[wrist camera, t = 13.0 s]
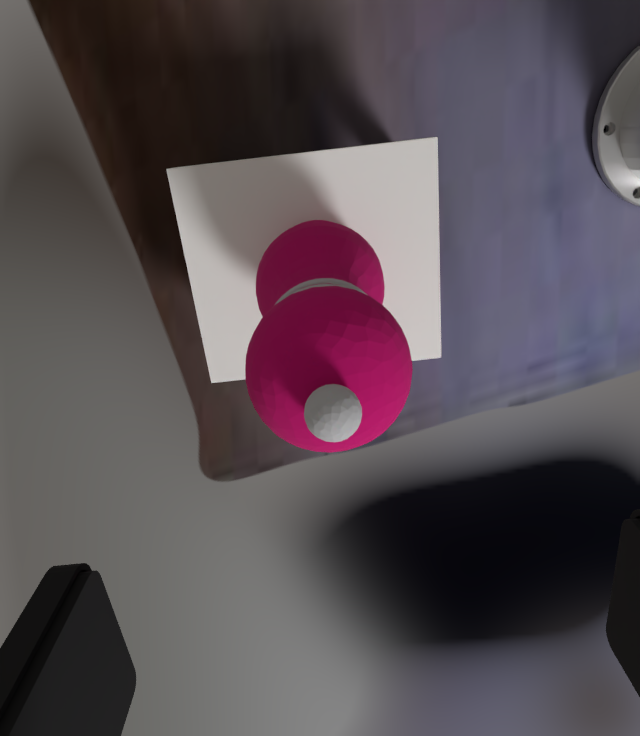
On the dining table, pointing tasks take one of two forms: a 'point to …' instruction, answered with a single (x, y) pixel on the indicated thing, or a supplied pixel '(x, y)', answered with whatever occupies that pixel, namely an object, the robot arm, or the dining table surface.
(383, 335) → the pepper mill
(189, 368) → the dining table surface
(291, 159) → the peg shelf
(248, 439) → the dining table surface
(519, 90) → the dining table surface
